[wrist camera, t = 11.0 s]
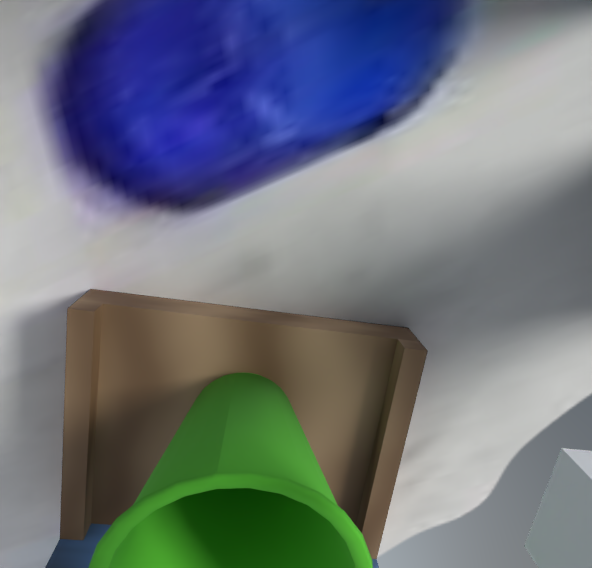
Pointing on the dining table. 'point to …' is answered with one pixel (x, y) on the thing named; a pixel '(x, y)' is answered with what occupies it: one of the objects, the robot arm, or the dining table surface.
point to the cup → (235, 493)
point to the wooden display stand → (200, 373)
